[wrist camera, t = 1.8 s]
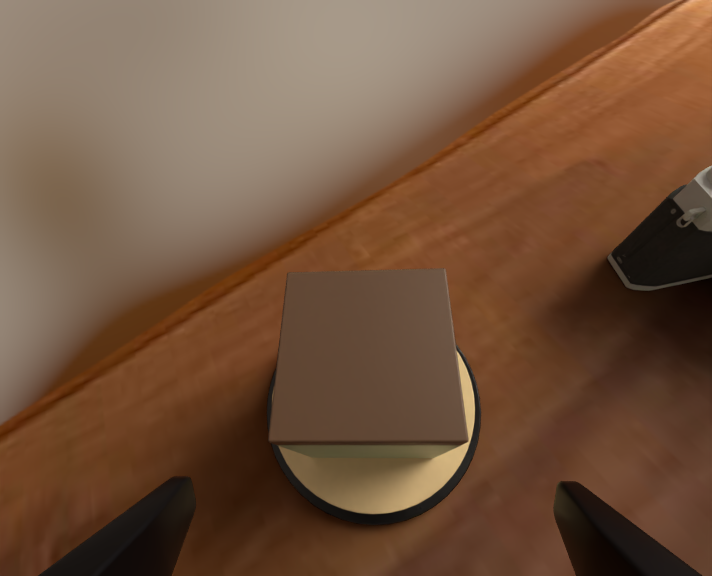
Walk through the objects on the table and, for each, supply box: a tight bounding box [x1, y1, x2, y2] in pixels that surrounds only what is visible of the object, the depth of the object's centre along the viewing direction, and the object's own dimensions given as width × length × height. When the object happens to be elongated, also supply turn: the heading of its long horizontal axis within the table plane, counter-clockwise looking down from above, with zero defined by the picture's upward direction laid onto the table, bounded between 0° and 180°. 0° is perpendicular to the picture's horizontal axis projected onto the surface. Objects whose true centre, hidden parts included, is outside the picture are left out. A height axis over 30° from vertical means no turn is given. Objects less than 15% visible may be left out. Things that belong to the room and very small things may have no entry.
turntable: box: [267, 345, 481, 525], centre depth 20 cm, size 12×12×1 cm
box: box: [268, 268, 475, 514], centre depth 16 cm, size 11×11×8 cm
